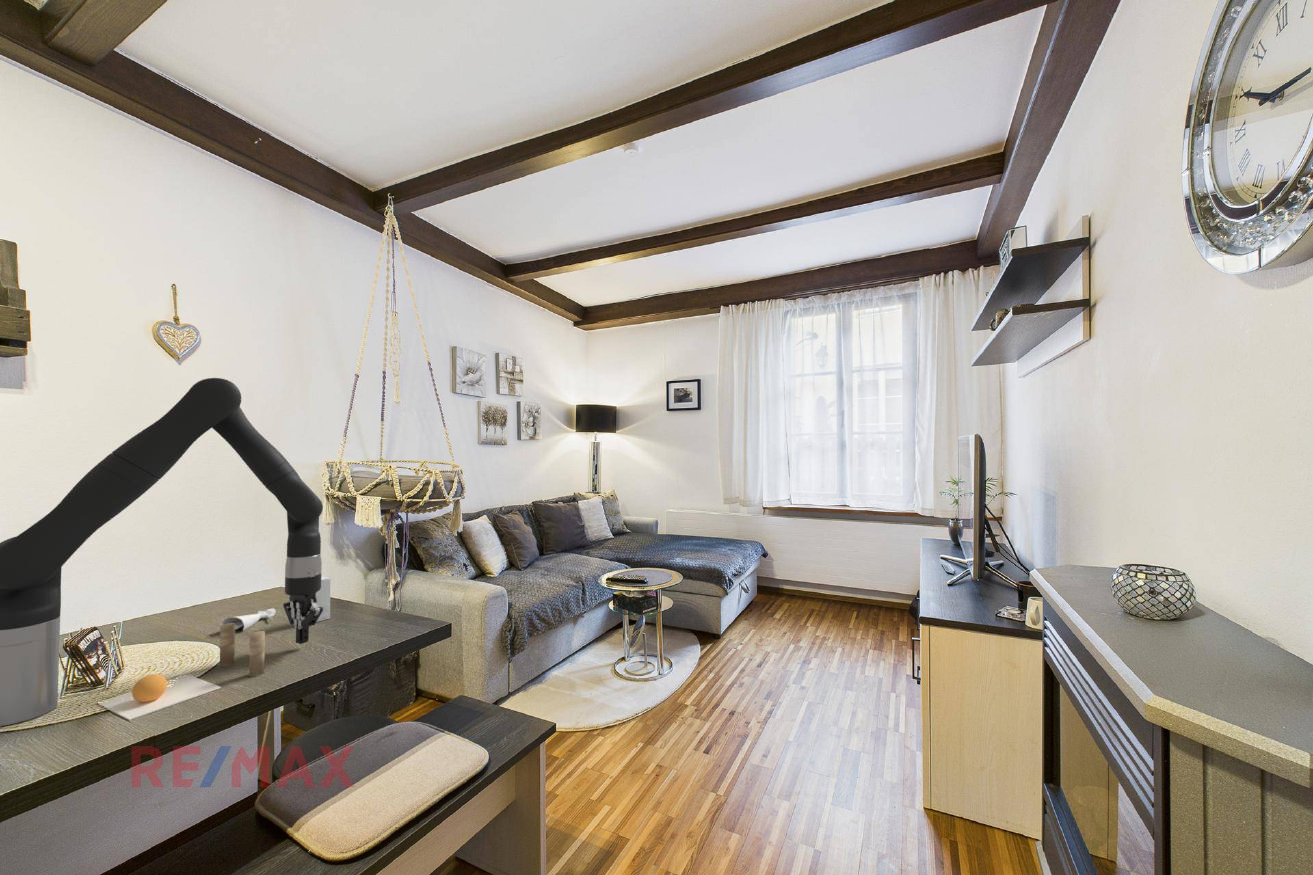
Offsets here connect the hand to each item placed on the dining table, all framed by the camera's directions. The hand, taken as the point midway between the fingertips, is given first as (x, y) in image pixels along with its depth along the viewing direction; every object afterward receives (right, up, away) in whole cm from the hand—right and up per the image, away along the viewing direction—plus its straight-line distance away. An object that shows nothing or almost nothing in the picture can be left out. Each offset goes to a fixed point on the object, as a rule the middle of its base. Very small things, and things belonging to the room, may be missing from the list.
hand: (302, 642), depth 127 cm
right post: (0, -1, -14) cm, 14 cm away
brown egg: (-12, +2, -27) cm, 29 cm away
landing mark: (-11, -1, -24) cm, 27 cm away
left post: (-11, -1, -9) cm, 14 cm away
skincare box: (-10, -2, +20) cm, 23 cm away
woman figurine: (-27, -2, +17) cm, 32 cm away
